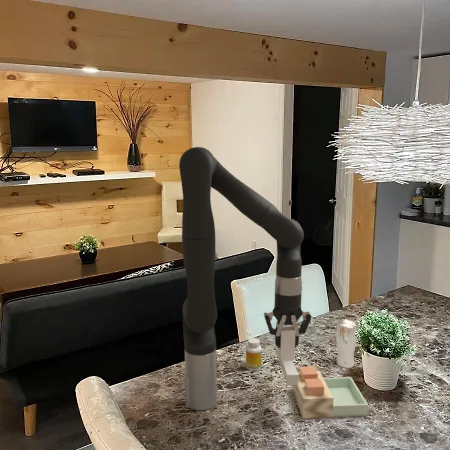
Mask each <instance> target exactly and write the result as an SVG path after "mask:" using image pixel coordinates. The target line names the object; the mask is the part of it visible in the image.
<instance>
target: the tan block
mask: <svg viewBox="0 0 450 450" xmlns="http://www.w3.org/2000/svg"><path fill="white" fill-rule="evenodd" d="M316 371H317V373H318V379H321V381H322V383H323V385H324V395H308V394H307V391H306V389H305V382H302V379H301V377H300V371H297V372H298V385H292V389H291V390H292V392H293V394H294V398H295V402H296V403H297V405H298V408H299V411H300V412H299V413H300V415H301V417H302V419H303V420H304V419H320V418H321V419H322V418H323V419H326V418H327V419H328V418H330V419H331V418H334V417H333V396H332V394H331V392H330V390H329V388H328V386H327V384H326V382H325V380H324V378H325V377H324V376H323V374H322V372H321V370H316Z"/></svg>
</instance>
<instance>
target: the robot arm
mask: <svg viewBox="0 0 450 450" xmlns="http://www.w3.org/2000/svg"><path fill="white" fill-rule="evenodd" d="M178 163H179V165H178V169H179V174H180V182H181V189H182V191H181V192H182V203H183V204H182V216H181V217H182V218H181V219H182V220H181V221H182V223H181V247H182V248H181V249H182V258H183V265H184V271H185V277H186V283H187V297H186V299H185V300H184V301H183V304H182V329H183V334H182V335H183V342H184V343H183V344H184V369H185V372H184V391H185V392H184V394H185V395H184V397H185V408H186V409H188V408H189V409H191V410H196V411H206V410H210V409H212V408H213V407H215V406H216V404H217V402H218V400H217V399H218V394H217V392H218V391H217V388H218V387H217V386H218V385H217V377H218V376H217V339H216V332H215V331H216V330H215V324H216V322H217V319H218V310H217V304H216V295H215V294H216V293H215V273H216V272H215V268H216V245H217V244H216V228H215V219H214V213H213V209H212V203H211V202H212V201H211V194H212V193H211V192H212V189H214V191H216V192H218V193H219V194H220V195H222V196H223V197H224V198H225V199H226V200H227V201H228V202H229V203H230V204H231V205H232V206H234V207H235V209H237V210H238V211H239V212H240V213H241V214H243V216H245V217H246V218H247V219H249V220H250V221H252V222H253V223H254V224H255V225H258V226H259V227H260V228H262V229H263V230H264V231H265V232H267V234H269V236H271V238H273V239H274V240H275V241H276V252H277V253H276V254H277V256H276V262H275V263H276V264H275V265H276V267H275V268H276V269H275V279H274V306H273V309H272V311H270V312H264V313H263V317H264V321H265V322H266V323H265V324H266V325H267V329H268V332H269V334H270V335H274V345H275V347H276V346H277V347H278V348H280V344H281V336H280V334H281V330H282V329H283V326H284V325H292V327H293V328H294V330H295V349H297V347H298V346H299V342H300V341H299V340H300V335H302V334H303V335H304V334H306V332H307V330H308V327H309V324H310V322H311V320H312V318H313V317H312V315H311V313H310V312H309V311H303V310H302V293H303V292H302V291H303V281H302V268H303V266H302V264H303V263H302V257H301V245H302V243H303V241H304V238H305V237H304V236H305V234H304V229H303V228H302V226H301V224H300V223H299V222H298V221H297V220H295V219H293V218H289V217H288V216H286V215H285V214H283V213H282V212H281V211H279V209H278V208H277V207H276V206H275V205H274V204H273V203H272V202H270V201H269V200H267V199H266V198H265V197H263V196H262V195H261V194H259V193H258V192H256V191H255V190H254V189H252V188H251V187H249V186H248V185H247V184H245V183H244V182H242V181H241V180H240V179H239V178H237V177H236V176H235V175H234V174H232V173H231V172H230V171H229V170H228V169H227V168H225V167H224V166H223V165H222V164H221V163H220V161H218V159H216V157H215V156H214V155H213V154H212V151H210V150H209V149H207V148H205V147H202V146H195V147H194V146H193V147H190V148H188V149H186V150H185V151H184V152H183V153H182V154H181V156H180V158H179V162H178ZM273 317H275V319H276V322H275V323H276V325H275V328H273V325H272V323H271V321H273ZM300 318H302V322H301V324H300V326H298V323H297V322H298V321H299V320H300Z"/></svg>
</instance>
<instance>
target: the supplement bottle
mask: <svg viewBox="0 0 450 450" xmlns="http://www.w3.org/2000/svg"><path fill="white" fill-rule="evenodd" d="M260 342H261V340H260V339H259V338H256V337H255V338H254V337H251V338H249V339H248V340H247V345H246V348H245V366H246V369H248V370H250V371H258V370H260V369H261V368H262V367H263V366H262V363H263V362H262V359H263V357H262V356H263V355H262V354H263V353H262V352H263V351H262V349H263V348H262V346H261V345H260V344H261V343H260Z"/></svg>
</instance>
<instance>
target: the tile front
mask: <svg viewBox="0 0 450 450" xmlns="http://www.w3.org/2000/svg"><path fill="white" fill-rule="evenodd" d="M305 389H306V391H307V394H308V395H324V385H323V383H322V381H321V379H305Z"/></svg>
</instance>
